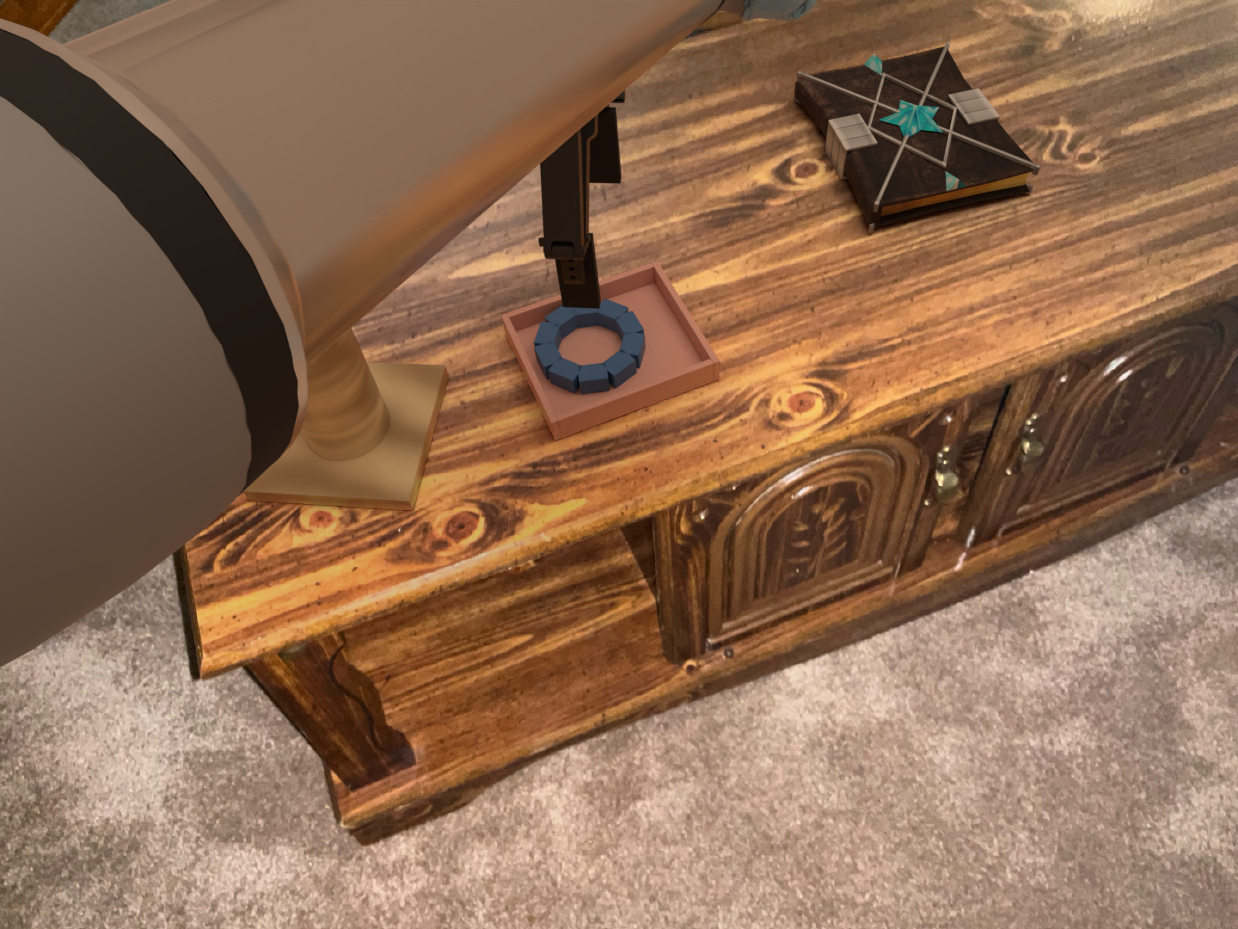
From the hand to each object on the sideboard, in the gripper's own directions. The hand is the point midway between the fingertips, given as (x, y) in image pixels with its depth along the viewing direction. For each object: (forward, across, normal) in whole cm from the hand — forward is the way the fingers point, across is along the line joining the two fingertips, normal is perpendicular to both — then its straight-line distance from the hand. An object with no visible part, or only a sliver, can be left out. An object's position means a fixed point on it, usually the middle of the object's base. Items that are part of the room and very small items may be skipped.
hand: (593, 239), depth 73 cm
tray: (+14, 0, 0) cm, 14 cm away
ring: (+14, 0, +2) cm, 14 cm away
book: (+14, +29, -27) cm, 42 cm away
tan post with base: (+14, -10, +21) cm, 27 cm away
